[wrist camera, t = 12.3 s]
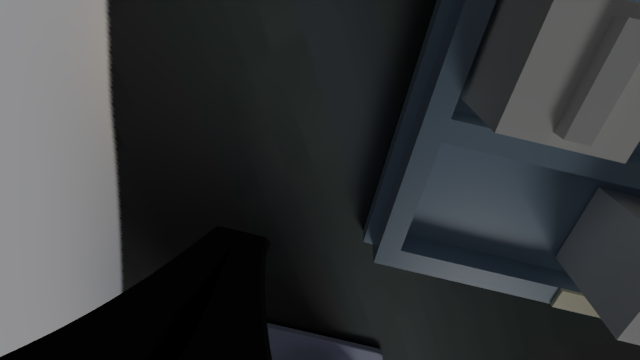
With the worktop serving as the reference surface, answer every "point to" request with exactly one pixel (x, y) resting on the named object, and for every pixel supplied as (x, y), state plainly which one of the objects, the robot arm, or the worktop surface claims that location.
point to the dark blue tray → (480, 182)
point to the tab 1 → (561, 75)
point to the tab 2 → (608, 260)
